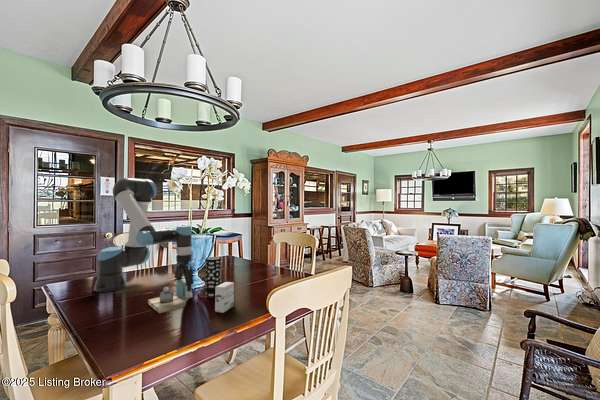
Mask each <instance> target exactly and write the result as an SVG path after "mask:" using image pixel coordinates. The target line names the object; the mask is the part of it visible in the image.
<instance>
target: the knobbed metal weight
mask: <svg viewBox="0 0 600 400" xmlns="http://www.w3.org/2000/svg"><path fill="white" fill-rule="evenodd" d="M170 288H171V287H170V286H165V287H163V291H162V292H160V293H159V297H160V303H169V302H172V301H173V294H174V291H173V290H171V289H170Z"/></svg>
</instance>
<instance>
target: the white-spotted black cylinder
mask: <svg viewBox="0 0 600 400" xmlns="http://www.w3.org/2000/svg"><path fill="white" fill-rule="evenodd" d="M204 263H205V264H204V265H205V266H204V267H205V271H204V277H205V278H204V280H205V281H204V297H205V298H207V299H215V287H216V286H218V285H220V284H222V257H220V256H209V257H206V258H205V262H204Z"/></svg>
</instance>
